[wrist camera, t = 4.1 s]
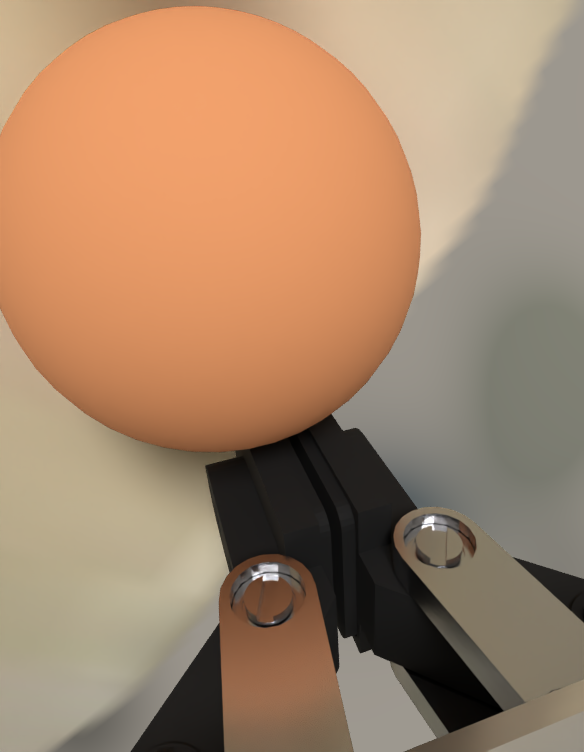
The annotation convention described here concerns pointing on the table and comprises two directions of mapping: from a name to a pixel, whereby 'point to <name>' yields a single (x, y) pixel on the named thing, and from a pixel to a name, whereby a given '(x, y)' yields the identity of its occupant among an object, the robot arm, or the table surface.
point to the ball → (204, 229)
